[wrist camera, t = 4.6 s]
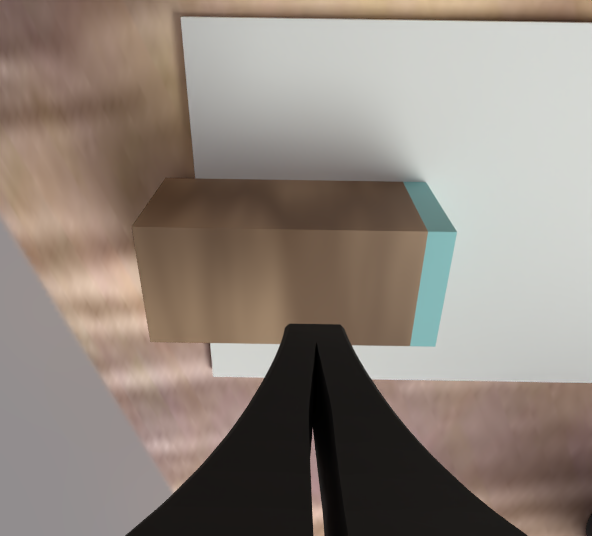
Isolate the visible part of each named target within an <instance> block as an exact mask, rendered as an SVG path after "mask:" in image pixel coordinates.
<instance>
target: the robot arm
mask: <svg viewBox="0 0 592 536" xmlns="http://www.w3.org/2000/svg"><path fill="white" fill-rule="evenodd" d="M312 429H313V433H314V442H315V450H316V459H317V467H318V476H319V484H320V492H321V501H322V509H323V520H324V534H325V536H527V535H526V534H525V533H523V532H522V531H521V530H519V529H518V528H516V527H515V526H514V525H512V524H511V523H510V522H508V521H507V520H505V519H504V518H503V517H501V516H500V515H499V514H497V513H496V512H495V511H493V510H492V509H491V508H490V507H488V506H487V505H486V504H485V503H483V502H482V501H481V500H480V499H479V498H477V497H476V496H475V495H474V494H473V493H471V492H470V491H469V490H468V489H467V488H466V487H465V486H464V485H463V484H461V483H460V482H459V481H458V480H457V479H456V478H455V477H454V476H453V475H452V474H451V473H450V472H449V471H448V470H447V469H445V468H444V467H443V466H442V465H441V464H440V463H439V462H438V461H437V460H436V459H435V458H434V457H433V456H432V455H431V454H430V453H429V452H428V451H427V450H426V448H425V447H424V446H423V445H422V444H421V443H420V442H419V441H418V440H417V439H416V438H415V436H414V435H413V434H412V433H411V432H410V431H409V430H408V428H407V427H406V426H405V425H404V424H403V422H402V421H401V420H400V419H399V417H398V416H397V415H396V414H395V412H394V411H393V410H392V408H391V407H390V406H389V404H388V403H387V401H386V400H385V399H384V397H383V396H382V395H381V393H380V392H379V390H378V389H377V387H376V386H375V384H374V383H373V381H372V379H371V378H370V376H369V375H368V373H367V372H366V370H365V368H364V367H363V365H362V363H361V362H360V360H359V358H358V356H357V354H356V353H355V351H354V349H353V347H352V345H351V343H350V341H349V339H348V336H347V334H346V332H345V329H344V328H343V327H342V326H341V325H340V324H288V325H287V326H286V327H285V329H284V334H283V337H282V341H281V343H280V346H279V349H278V351H277V353H276V356H275V358H274V360H273V362H272V364H271V366H270V368H269V370H268V372H267V374H266V376H265V378H264V380H263V381H262V383H261V385H260V387H259V388H258V390H257V392H256V393H255V395H254V396H253V398H252V400H251V401H250V403H249V405H248V406H247V408H246V409H245V411H244V412H243V414H242V415H241V417H240V418H239V419H238V421H237V422H236V424H235V425H234V426H233V428H232V429H231V430H230V432H229V433H228V434H227V436H226V437H225V438H224V439H223V440H222V442H221V443H220V444H219V445H218V446H217V448H216V449H215V450H214V451H213V452H212V454H211V455H210V456H209V457H208V458H207V459H206V461H205V462H204V463H203V464H202V465H201V466H200V467H199V468H198V469H197V470H196V471H195V472H194V473H193V474H192V475H191V476H190V477H189V478H188V479H187V480H186V481H185V482H184V483H183V484H182V485H181V486H180V487H179V488H178V489H177V490H176V491H175V492H174V493H173V494H172V495H171V496H170V497H169V499H167V500H166V501H165V502H164V503H163V504H162V505H161V506H160V507H158V508H157V509H156V510H155V511H154V512H153V513H151V514H150V515H149V516H148V517H147V518H146V519H144V520H143V521H142V522H141V523H140V524H138V525H137V526H136V527H135V528H134V529H133V530H132V531H131V532H129V533H128V534H127V535H126V536H313V519H312V497H311V472H310V453H311V441H312Z"/></svg>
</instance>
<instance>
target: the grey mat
mask: <svg viewBox="0 0 592 536" xmlns="http://www.w3.org/2000/svg"><path fill="white" fill-rule="evenodd" d="M181 28H182V39H183V50H184V61H185V72H186V83H187V94H188V105H189V116H190V127H191V138H192V149H193V160H194V171H195V178H198V179H262V180H326V181H391V182H426V183H427V185H428V186H429V188H430V189H431V191H432V193H433V194H434V196H435V197H436V199H437V201H438V202H439V204H440V205H441V207H442V209H443V210H444V212H445V213H446V215H447V217H448V218H449V220H450V221H451V223H452V225H453V226H454V228H455V230H456V231H457V235H456V240H455V246H454V251H453V256H452V262H451V267H450V272H449V277H448V283H447V288H446V293H445V299H444V304H443V309H442V314H441V320H440V325H439V330H438V335H437V341H436V346H435V347H423V346H362V345H352V347H353V349H354V351H355V353H356V354H357V356H358V358H359V360H360V362H361V363H362V365H363V367H364V368H365V370H366V372H367V373H368V375H369V376H370V378H371V379H383V380H444V381H504V382H564V383H592V22H537V21H469V20H401V19H333V18H265V17H197V16H183V17H181ZM279 346H280V344H240V343H210V347H211V358H212V369H213V377H262V378H265V376H266V374H267V372H268V370H269V368H270V366H271V364H272V362H273V360H274V358H275V356H276V353H277V351H278V349H279Z"/></svg>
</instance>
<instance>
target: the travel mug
mask: <svg viewBox="0 0 592 536" xmlns="http://www.w3.org/2000/svg"><path fill="white" fill-rule="evenodd" d="M586 535H587V536H592V515H591V516H590V518H589V520H588V523H587V527H586Z"/></svg>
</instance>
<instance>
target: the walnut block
mask: <svg viewBox="0 0 592 536" xmlns="http://www.w3.org/2000/svg"><path fill="white" fill-rule="evenodd" d="M132 233H133V239H134V245H135V251H136V257H137V263H138V269H139V275H140V281H141V287H142V294H143V300H144V306H145V312H146V318H147V324H148V330H149V336H150V342H179V343H240V344H280V343H281V341H282V337H283V334H284V329H285V327H286V326H287V325H288V324H340V325H341V326H342V327H343V328H344V329H345V332H346V334H347V336H348V339H349V341H350V343H351V345H362V346H423V347H435V346H436V341H437V335H438V330H439V325H440V320H441V314H442V309H443V304H444V299H445V293H446V288H447V283H448V277H449V272H450V267H451V262H452V256H453V251H454V246H455V240H456V235H457V231H456V230H455V228H454V226H453V225H452V223H451V221H450V220H449V218H448V217H447V215H446V213H445V212H444V210H443V209H442V207H441V205H440V204H439V202H438V201H437V199H436V197H435V196H434V194H433V193H432V191H431V189H430V188H429V186H428V185H427V183H426V182H391V181H326V180H262V179H198V178H165V180H164V181H163V183H162V184H161V185H160V187H159V188H158V190H157V191H156V193H155V194H154V195H153V197H152V198H151V200H150V201H149V203H148V204H147V205H146V207H145V208H144V210H143V211H142V213H141V214H140V216H139V217H138V218H137V220H136V221H135V223H134V224H133V226H132Z"/></svg>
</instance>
